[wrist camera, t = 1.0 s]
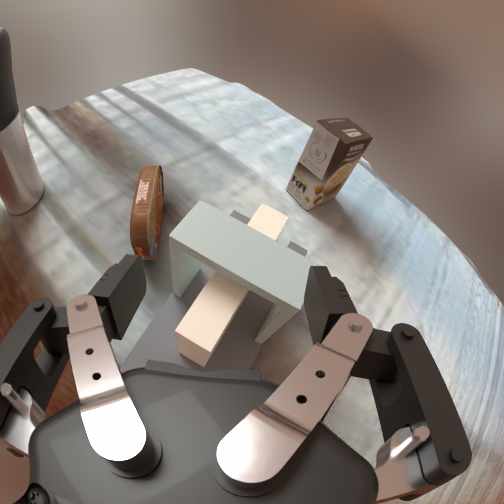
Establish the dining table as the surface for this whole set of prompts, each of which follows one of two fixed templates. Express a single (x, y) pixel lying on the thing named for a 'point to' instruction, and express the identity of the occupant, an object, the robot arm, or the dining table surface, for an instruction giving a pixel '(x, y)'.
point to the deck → (232, 342)
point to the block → (220, 299)
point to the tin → (147, 213)
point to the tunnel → (239, 261)
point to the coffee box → (327, 161)
